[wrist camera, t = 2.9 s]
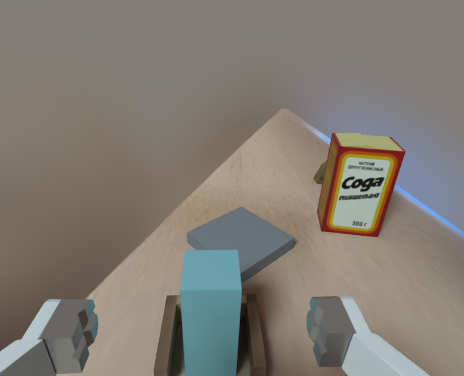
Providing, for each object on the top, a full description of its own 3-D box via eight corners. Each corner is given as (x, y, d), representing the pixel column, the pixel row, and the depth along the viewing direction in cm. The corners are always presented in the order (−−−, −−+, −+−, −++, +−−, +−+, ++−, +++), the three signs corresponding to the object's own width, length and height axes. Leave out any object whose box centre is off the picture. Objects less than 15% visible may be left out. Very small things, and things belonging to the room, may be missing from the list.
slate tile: (240, 215, 56) (241, 206, 55) (293, 247, 48) (294, 237, 47) (187, 242, 49) (187, 232, 48) (239, 284, 41) (239, 273, 40)
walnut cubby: (254, 311, 37) (255, 294, 36) (264, 385, 30) (266, 367, 28) (168, 313, 37) (167, 295, 35) (156, 389, 29) (153, 370, 28)
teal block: (233, 331, 35) (237, 249, 29) (235, 376, 30) (241, 289, 25) (189, 332, 34) (185, 250, 29) (185, 377, 30) (179, 290, 24)
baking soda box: (368, 216, 57) (391, 135, 50) (377, 237, 52) (406, 148, 44) (317, 211, 58) (332, 130, 51) (321, 231, 53) (339, 143, 45)
